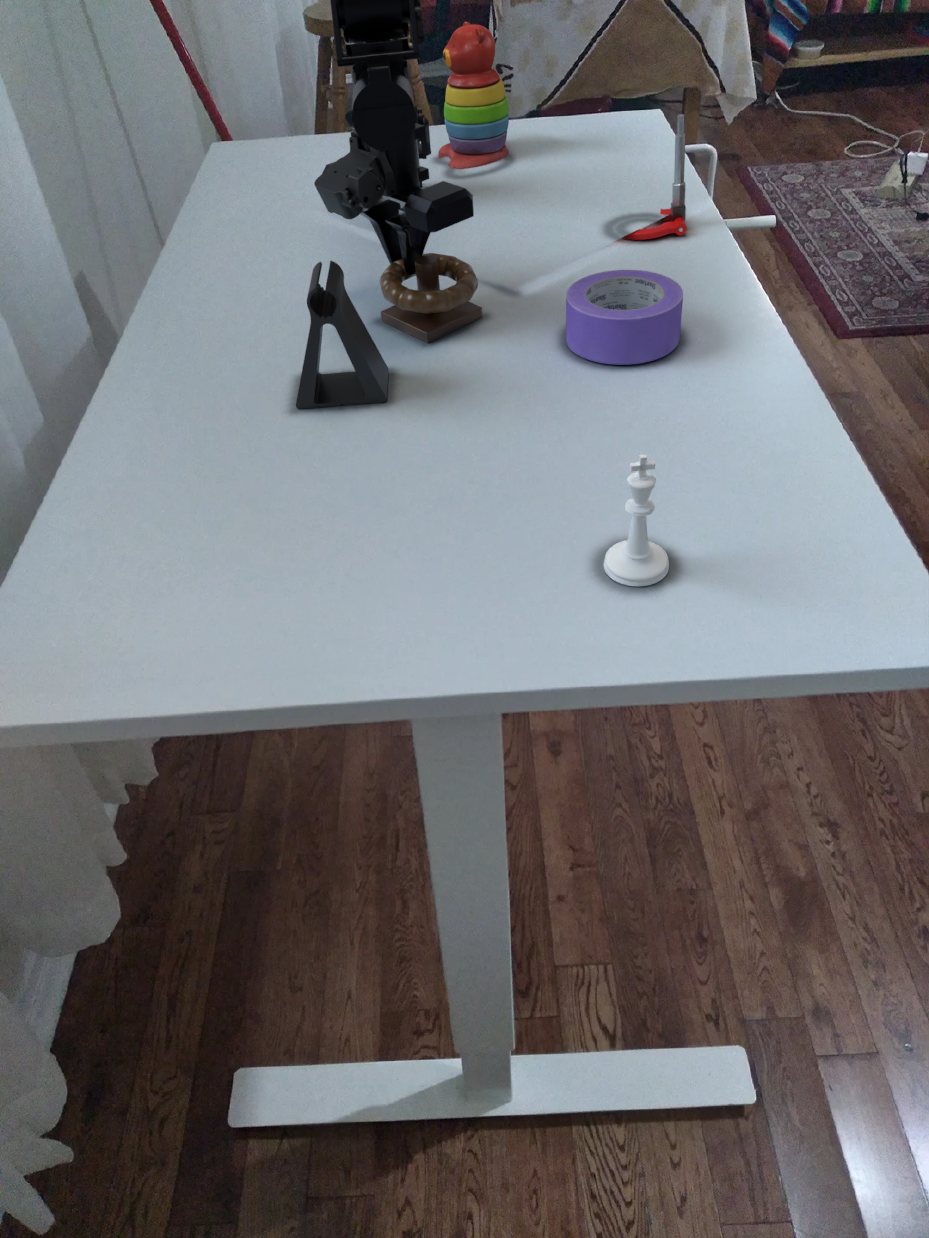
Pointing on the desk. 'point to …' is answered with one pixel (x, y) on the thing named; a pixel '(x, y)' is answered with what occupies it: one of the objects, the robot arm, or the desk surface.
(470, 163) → the stacking bear
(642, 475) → the chess piece
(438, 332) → the post
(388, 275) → the ring
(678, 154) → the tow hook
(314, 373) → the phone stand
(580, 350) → the tape roll
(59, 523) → the desk surface
